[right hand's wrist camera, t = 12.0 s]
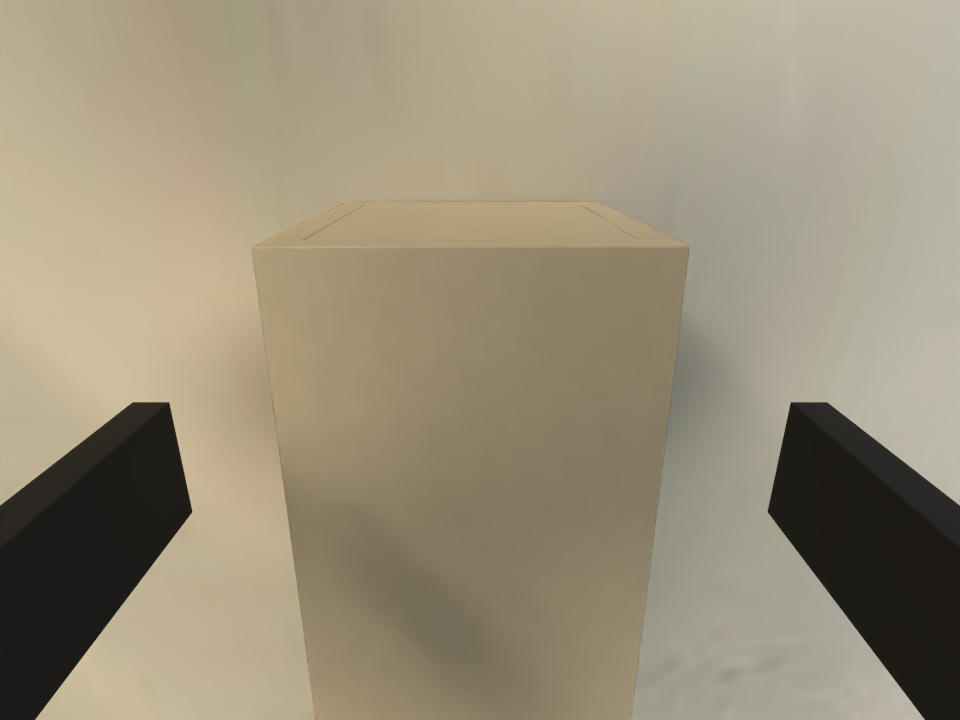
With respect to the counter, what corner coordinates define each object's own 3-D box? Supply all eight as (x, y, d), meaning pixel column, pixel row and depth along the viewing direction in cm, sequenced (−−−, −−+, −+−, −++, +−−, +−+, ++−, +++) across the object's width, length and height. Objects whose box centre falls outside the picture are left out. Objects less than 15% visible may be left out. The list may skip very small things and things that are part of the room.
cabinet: (576, 542, 29) (628, 747, 19) (371, 543, 29) (318, 750, 19) (599, 201, 23) (691, 245, 13) (345, 201, 23) (250, 246, 13)
